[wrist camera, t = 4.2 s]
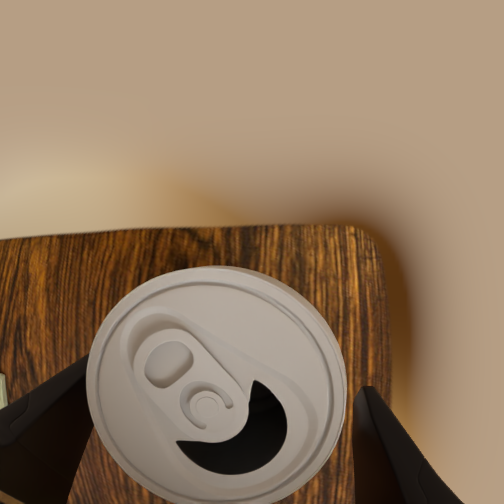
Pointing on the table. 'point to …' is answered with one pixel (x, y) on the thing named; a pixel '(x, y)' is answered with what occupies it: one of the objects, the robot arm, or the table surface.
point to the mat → (3, 391)
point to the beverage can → (217, 387)
